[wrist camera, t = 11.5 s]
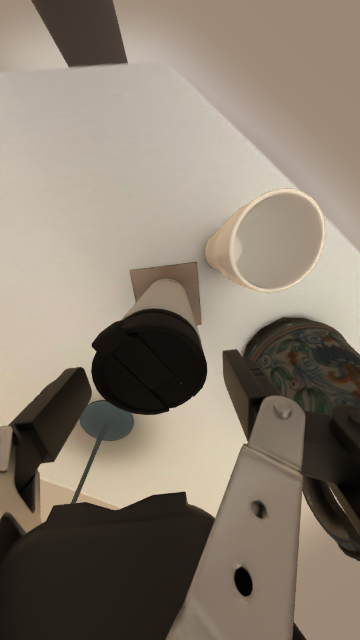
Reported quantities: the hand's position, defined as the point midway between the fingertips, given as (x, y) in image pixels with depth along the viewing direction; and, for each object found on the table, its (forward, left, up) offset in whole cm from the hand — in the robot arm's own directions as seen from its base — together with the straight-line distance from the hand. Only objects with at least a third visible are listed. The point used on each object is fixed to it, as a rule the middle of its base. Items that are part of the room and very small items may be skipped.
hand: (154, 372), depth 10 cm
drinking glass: (-6, +9, -20) cm, 22 cm away
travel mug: (0, 0, -19) cm, 19 cm away
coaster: (0, 0, -19) cm, 19 cm away
